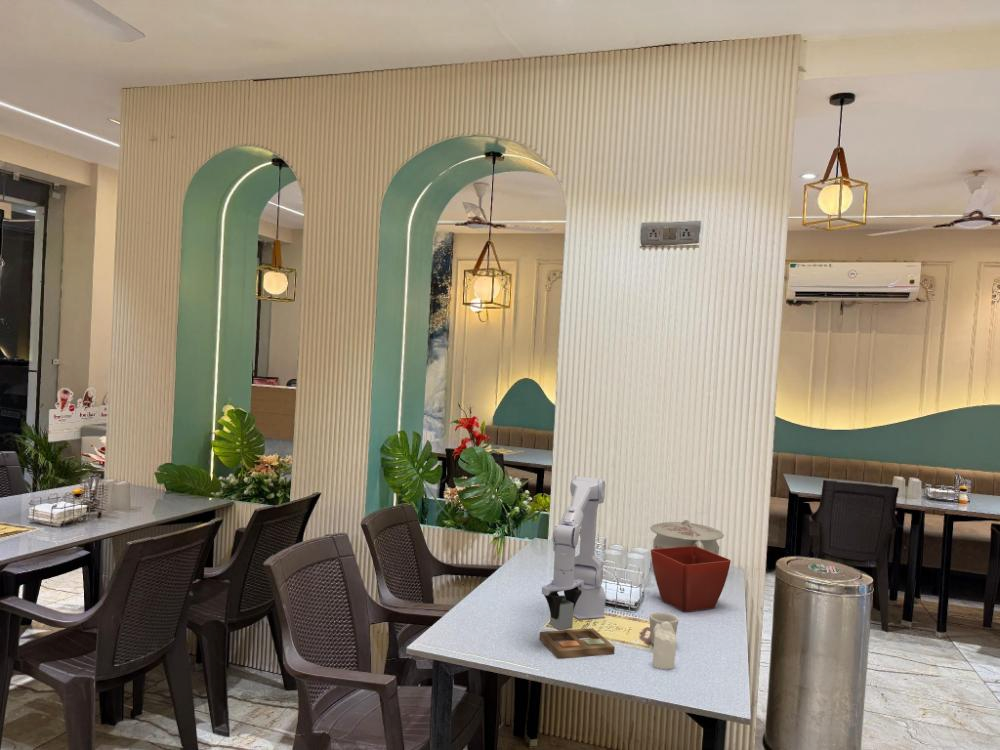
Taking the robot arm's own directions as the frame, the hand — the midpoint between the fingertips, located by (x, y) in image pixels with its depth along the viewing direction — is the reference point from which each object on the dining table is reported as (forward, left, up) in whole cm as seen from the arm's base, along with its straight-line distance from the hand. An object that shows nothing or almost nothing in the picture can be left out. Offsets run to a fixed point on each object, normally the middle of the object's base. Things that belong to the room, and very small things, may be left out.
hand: (561, 616), depth 208 cm
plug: (0, 0, -3) cm, 3 cm away
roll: (-22, +19, -8) cm, 30 cm away
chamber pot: (-74, -56, -8) cm, 93 cm away
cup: (-28, +7, -8) cm, 30 cm away
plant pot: (-56, -24, -8) cm, 61 cm away
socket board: (-4, +3, -8) cm, 9 cm away
